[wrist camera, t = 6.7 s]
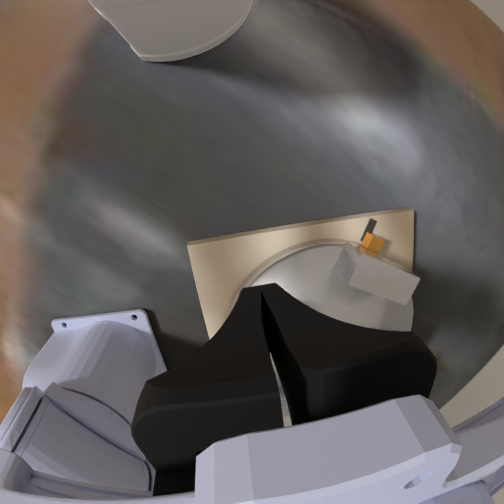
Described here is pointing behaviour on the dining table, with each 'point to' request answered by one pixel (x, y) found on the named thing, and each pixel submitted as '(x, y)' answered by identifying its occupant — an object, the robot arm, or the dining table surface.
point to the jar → (174, 24)
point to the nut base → (279, 238)
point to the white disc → (340, 285)
